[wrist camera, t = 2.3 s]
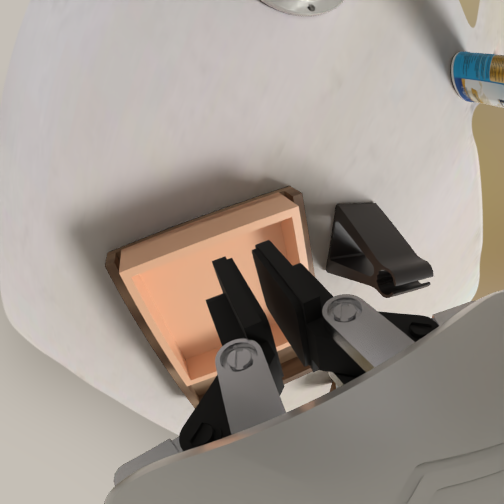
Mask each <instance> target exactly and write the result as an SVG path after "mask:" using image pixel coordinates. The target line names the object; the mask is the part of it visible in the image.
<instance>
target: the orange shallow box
mask: <svg viewBox="0 0 504 504" xmlns="http://www.w3.org/2000/svg"><path fill="white" fill-rule="evenodd" d="M267 240H270V241H271V242H272V243H273V244H274V246H275V247H276V248H277V249H278V250H279V251H280V252H281V253H282V254H283V255H284V257H285V258H286V259H287V260H288V261H289V262H290V263H291V264H292V265H295V264H298V263H301V264H303V265H304V266H305V267H306V268H307V269H308V271H309V268H308V261H307V254H306V248H305V241H304V235H303V229H302V223H301V217H300V211H299V206H298V205H296V204H295V203H293V202H292V201H291V200H289V199H288V198H286V197H285V196H283V195H282V194H280V193H279V192H278V193H275V194H272V195H269V196H266V197H263V198H260V199H257V200H254V201H251V202H248V203H245V204H242V205H240V206H237V207H234V208H231V209H228V210H225V211H223V212H220V213H217V214H214V215H211V216H209V217H206V218H203V219H200V220H198V221H195V222H192V223H190V224H187V225H184V226H182V227H179V228H176V229H174V230H171V231H168V232H166V233H163V234H160V235H158V236H155V237H153V238H150V239H148V240H145V241H142V242H140V243H137V244H135V245H132V246H130V247H127V248H125V249H122V250H121V258H120V267H119V274H120V276H121V278H122V280H123V282H124V284H125V285H126V287H127V289H128V291H129V293H130V295H131V297H132V298H133V300H134V302H135V304H136V306H137V307H138V309H139V311H140V313H141V314H142V316H143V318H144V319H145V321H146V323H147V325H148V326H149V328H150V330H151V331H152V333H153V335H154V336H155V338H156V340H157V341H158V343H159V344H160V346H161V348H162V349H163V351H164V352H165V354H166V356H167V357H168V359H169V360H170V362H171V363H172V365H173V366H174V368H175V369H176V371H177V373H178V374H179V376H180V377H181V378H182V380H183V381H184V383H185V384H186V386H190V385H193V384H196V383H198V382H201V381H204V380H207V379H210V378H212V377H215V376H217V370H216V365H215V357H216V355H217V352H218V351H219V350H220V348H221V347H222V344H221V341H220V339H219V336H218V333H217V331H216V328H215V325H214V323H213V320H212V317H211V314H210V312H209V309H208V306H207V303H206V300H207V299H210V298H212V297H215V296H217V295H220V294H222V293H223V292H222V289H221V286H220V283H219V281H218V278H217V275H216V272H215V269H214V267H213V264H212V261H214V260H216V259H219V258H222V257H224V256H225V257H226V258H227V259H230V258H232V259H233V260H234V262H235V264H236V265H237V267H238V269H239V271H240V272H241V274H242V276H243V277H244V279H245V281H246V282H247V284H248V286H249V287H250V289H251V291H252V292H253V294H254V296H255V297H256V299H257V301H258V302H259V304H260V306H261V307H262V309H263V311H264V312H265V314H266V316H267V319H268V321H269V324H270V327H271V331H272V334H273V338H274V342H275V345H276V349H277V351H279V350H282V349H284V348H286V347H289V346H291V345H290V344H289V342H288V341H287V339H286V337H285V336H284V334H283V333H282V331H281V329H280V328H279V326H278V325H277V323H276V322H275V320H274V318H273V317H272V315H271V314H270V312H269V310H268V308H267V306H266V303H265V300H264V296H263V293H262V289H261V285H260V281H259V278H258V274H257V270H256V266H255V263H254V259H253V255H252V250H253V249H256V248H255V245H256V244H259V243H261V242H264V241H267Z"/></svg>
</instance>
